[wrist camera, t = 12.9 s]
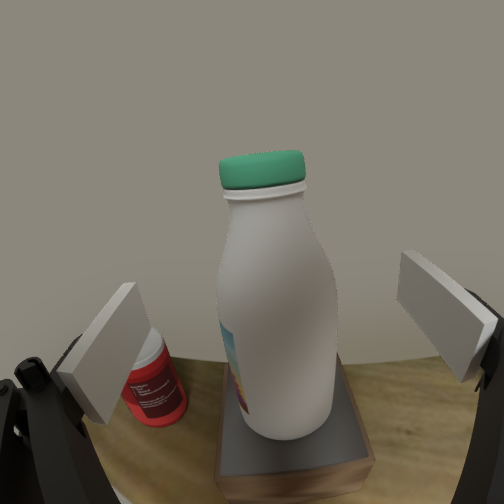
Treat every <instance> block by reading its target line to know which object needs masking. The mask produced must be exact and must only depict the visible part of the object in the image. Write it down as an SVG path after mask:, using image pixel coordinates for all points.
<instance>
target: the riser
mask: <svg viewBox="0 0 504 504" xmlns="http://www.w3.org/2000/svg"><path fill="white" fill-rule="evenodd" d="M374 462H375V457H374V454H373V451H372V448H371V445H370V442H369V439H368V436H367V433H366V430H365V427H364V424H363V421H362V418H361V415H360V413H359V410H358V407H357V404H356V401H355V399H354V396H353V393H352V390H351V388H350V385H349V382H348V380H347V377H346V374H345V372H344V369H343V366H342V364H341V361H340V358H339V356H338V354H337V355H336V369H335V382H334V392H333V401H332V408H331V411H330V414H329V416H328V418H327V419H326V421H325V422H324V423H323V424H322V425H321V426H320V427H319V428H318V429H317V430H315V431H314V432H312V433H311V434H309V435H306V436H304V437H302V438H298V439H294V440H274V439H271V438H267V437H264V436H262V435H260V434H258V433H257V432H255V431H254V430H253V429H251V428H250V427H249V426H248V424H247V423H246V422H245V420H244V418H243V415H242V412H241V409H240V405H239V402H238V398H237V394H236V391H235V387H234V383H233V379H232V375H231V371H230V367H229V364H224V373H223V384H222V394H221V405H220V416H219V428H218V440H217V452H216V464H215V477H214V482H215V483H216V485H217V486H218V488H219V489H220V490H221V492H222V493H223V495H224V496H225V497H226V499H227V500H228V501H229V503H230V504H290V503H298V502H305V501H312V500H318V499H324V498H329V497H334V496H338V495H343V494H347V493H351V492H355V491H359V490H360V488H361V486H362V485H363V483H364V481H365V479H366V477H367V476H368V474H369V472H370V470H371V468H372V466H373V464H374Z"/></svg>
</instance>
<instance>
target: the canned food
mask: <svg viewBox="0 0 504 504" xmlns="http://www.w3.org/2000/svg"><path fill="white" fill-rule="evenodd" d="M120 395H121V396H122V398H123V400H124V401H125V403H126V404H127V406H128V407H129V409H130V411H131V412H132V414H133V415H134V416H135V418H136V419H138V420H139V421H140V422H142V423H143V424H145V425H147V426H150V427H166V426H169V425H172V424H174V423H175V422H177V421H178V420H179V419H180V418H182V416H183V415H184V413H185V411H186V408H187V397H186V395H185V392H184V390H183V388H182V385H181V383H180V380H179V378H178V375H177V373H176V370H175V368H174V365H173V362H172V360H171V357H170V354H169V352H168V349H167V346H166V344H165V341H164V338H163V337H162V335H161V333H160V332H159V331H158V330H157V329H156V328H153V327H151V330H150V332H149V334H148V336H147V338H146V340H145V342H144V344H143V347H142V349H141V351H140V353H139V355H138V357H137V359H136V361H135V364H134V366H133V368H132V370H131V372H130V374H129V377H128V379H127V381H126V383H125V385H124V388H123V390H122V392H121V394H120Z"/></svg>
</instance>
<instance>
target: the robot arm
mask: <svg viewBox="0 0 504 504" xmlns="http://www.w3.org/2000/svg"><path fill="white" fill-rule="evenodd" d="M397 300H398V302H399V303H400V304H401V305H402V306H403V308H404V309H405V310H406V311H407V313H408V314H409V315H410V316H411V318H412V319H413V320H414V321H415V323H416V324H417V325H418V326H419V328H420V329H421V330H422V331H423V333H424V334H425V335H426V336H427V338H428V339H429V340H430V342H431V343H432V344H433V346H434V347H435V348H436V350H437V351H438V352H439V354H440V355H441V356H442V358H443V359H444V361H445V362H446V363H447V365H448V366H449V367H450V369H451V370H452V372H453V373H454V374H455V376H456V377H457V379H458V380H459V382H460V383H463V382H465V381H468V380H470V379H472V378H474V377H475V375H476V373H477V371H478V369H479V367H480V366H481V367H482V368H483V370H484V372H483V374H482V376H481V379H480V381H479V383H478V384H477V386H476V389H475V391H474V392H477V390H478V388H479V387H480V393H479V400H478V407H477V413H476V418H475V423H474V428H473V433H472V437H471V442H470V446H469V450H468V453H467V457H466V461H465V464H464V467H463V471H462V474H461V477H460V480H459V483H458V486H457V489H456V491H455V494H454V497H453V499H452V502H451V504H504V318H502V317H501V316H500V315H499V314H498V313H497V312H496V311H495V310H493V309H492V308H491V307H490V306H489V305H487V303H486V302H484V301H483V300H481V298H480V297H479V296H477V295H476V294H475V293H473V292H471V291H469V290H467V289H465V288H463V287H461V286H460V285H459V284H458V283H457V282H455V281H454V280H453V279H451V278H450V277H449V276H448V275H446V274H445V273H444V272H443V271H442V270H440V269H439V268H438V267H436V266H435V265H434V264H433V263H431V262H430V261H429V260H427V259H426V258H425V257H423V256H422V255H421V254H419V253H418V252H417V251H415V250H406V251H402V252H401V263H400V274H399V284H398V292H397ZM150 330H151V325H150V322H149V319H148V317H147V314H146V311H145V308H144V305H143V302H142V298H141V295H140V292H139V289H138V286H137V283H136V282H132V283H123V284H122V286H121V287H120V288H119V289H118V290H117V292H116V293H115V294H114V295H113V296H112V298H111V299H110V300H109V301H108V303H107V304H106V305H105V307H104V308H103V309H102V310H101V311H100V313H99V314H98V315H97V316H96V318H95V319H94V320H93V322H92V323H91V324H90V326H89V327H88V328H87V330H86V331H85V332H84V333H83V334H81V335H80V336H79V337H77V338H76V339H75V340H74V341H73V342H72V343H71V345H70V346H69V347H68V350H66V352H65V353H64V356H62V357H61V358H60V360H59V361H58V362H57V364H56V365H55V366H54V368H53V369H52V371H51V372H50V374H49V372H48V371H47V369H46V367H45V366H44V364H43V362H42V361H41V359H40V358H38V357H30V358H27V359H25V360H24V361H22V362H21V363H20V364H19V365H18V366H17V367H16V369H15V372H14V374H15V376H16V377H17V379H18V380H19V382H20V383H21V385H22V386H23V388H18V389H17V387H16V386H15V384H14V383H13V381H12V380H10V379H4V380H1V381H0V504H121V503H120V501H119V500H118V498H117V496H116V494H115V492H114V490H113V488H112V486H111V484H110V482H109V480H108V478H107V476H106V474H105V472H104V470H103V468H102V465H101V463H100V461H99V459H98V456H97V454H96V452H95V449H94V447H93V444H92V442H91V439H90V437H89V434H88V431H87V428H86V426H85V424H84V422H83V421H82V420H81V419H82V417H83V415H84V413H85V415H86V416H87V417H88V418H89V420H90V421H91V422H92V423H97V424H102V425H108V423H109V420H110V418H111V415H112V413H113V411H114V408H115V406H116V404H117V401H118V399H119V397H120V394H121V392H122V390H123V388H124V385H125V383H126V381H127V379H128V377H129V374H130V372H131V370H132V368H133V366H134V364H135V361H136V359H137V357H138V355H139V353H140V351H141V349H142V347H143V344H144V342H145V340H146V338H147V336H148V334H149V332H150ZM14 426H15V427H16V428H17V429H18V430H19V435H18V436H17V435H16V434H15V433H14Z"/></svg>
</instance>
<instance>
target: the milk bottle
mask: <svg viewBox="0 0 504 504" xmlns="http://www.w3.org/2000/svg"><path fill="white" fill-rule="evenodd" d="M219 173H220V180H221V185H222V187H223V188H224V195H223V197H224V199H226V200H227V201H228V203H229V209H230V219H229V229H228V236H227V241H226V246H225V249H224V253H223V257H222V260H221V264H220V268H219V272H218V278H217V288H216V298H217V310H218V316H219V321H220V327H221V332H222V337H223V341H224V346H225V350H226V354H227V358H228V363H229V367H230V371H231V375H232V379H233V383H234V387H235V391H236V394H237V398H238V402H239V405H240V409H241V412H242V415H243V418H244V420H245V422H246V423H247V424H248V426H249V427H250V428H251V429H253V430H254V431H255V432H257V433H258V434H260V435H262V436H264V437H267V438H271V439H274V440H294V439H298V438H302V437H304V436H306V435H309V434H311V433H312V432H314V431H315V430H317V429H318V428H319V427H320V426H321V425H322V424H323V423H324V422H325V421H326V419H327V418H328V416H329V414H330V411H331V408H332V401H333V392H334V382H335V369H336V355H337V331H338V328H337V327H338V306H337V305H338V303H337V290H336V283H335V278H334V274H333V270H332V268H331V265H330V262H329V260H328V258H327V256H326V254H325V252H324V250H323V248H322V246H321V244H320V243H319V240H318V239H317V237H316V235H315V232H314V231H313V228H312V226H311V223H310V220H309V218H308V215H307V212H306V209H305V205H304V198H303V193H304V191H305V190H306V189H307V186H306V185H305V175H306V172H305V163H304V156H303V154H302V152H300V151H296V150H290V151H289V150H288V151H274V152H265V153H257V154H248V155H242V156H236V157H230V158H226V159H223V160H221V161H220V162H219Z"/></svg>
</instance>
